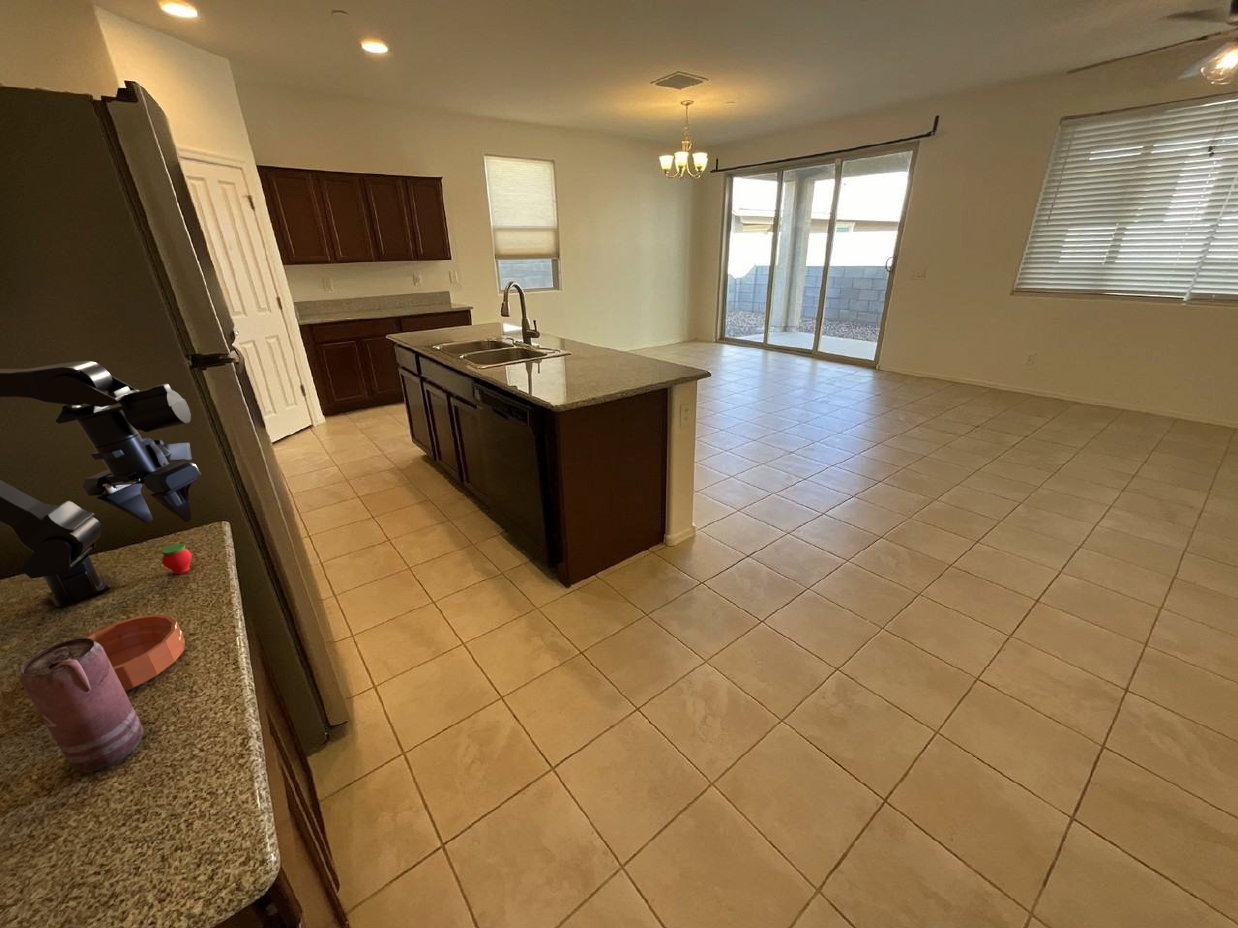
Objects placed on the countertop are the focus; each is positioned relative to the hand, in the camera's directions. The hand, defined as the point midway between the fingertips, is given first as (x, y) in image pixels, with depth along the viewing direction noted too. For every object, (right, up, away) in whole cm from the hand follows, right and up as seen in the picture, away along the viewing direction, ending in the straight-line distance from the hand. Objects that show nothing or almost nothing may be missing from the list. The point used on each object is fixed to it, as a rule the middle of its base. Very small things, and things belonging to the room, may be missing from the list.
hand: (168, 521), depth 88 cm
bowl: (+10, -18, -18) cm, 27 cm away
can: (+20, -23, -30) cm, 43 cm away
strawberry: (-2, -10, +5) cm, 11 cm away
